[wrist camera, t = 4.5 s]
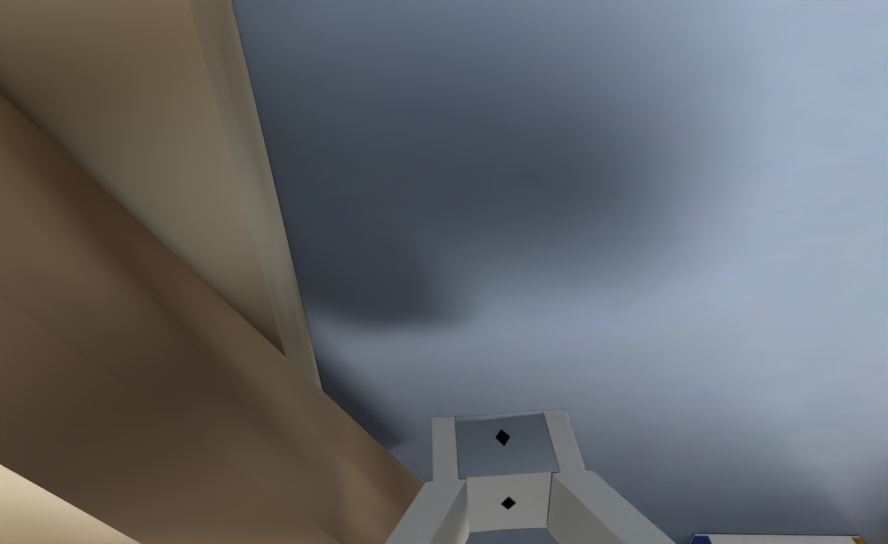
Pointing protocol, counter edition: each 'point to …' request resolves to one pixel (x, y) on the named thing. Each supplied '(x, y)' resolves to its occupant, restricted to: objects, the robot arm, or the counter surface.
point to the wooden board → (155, 170)
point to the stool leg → (161, 382)
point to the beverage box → (773, 539)
